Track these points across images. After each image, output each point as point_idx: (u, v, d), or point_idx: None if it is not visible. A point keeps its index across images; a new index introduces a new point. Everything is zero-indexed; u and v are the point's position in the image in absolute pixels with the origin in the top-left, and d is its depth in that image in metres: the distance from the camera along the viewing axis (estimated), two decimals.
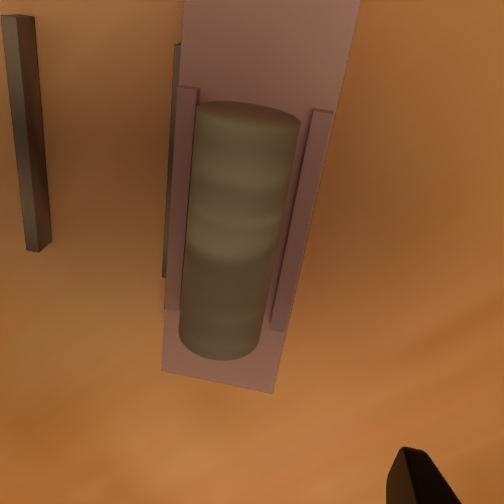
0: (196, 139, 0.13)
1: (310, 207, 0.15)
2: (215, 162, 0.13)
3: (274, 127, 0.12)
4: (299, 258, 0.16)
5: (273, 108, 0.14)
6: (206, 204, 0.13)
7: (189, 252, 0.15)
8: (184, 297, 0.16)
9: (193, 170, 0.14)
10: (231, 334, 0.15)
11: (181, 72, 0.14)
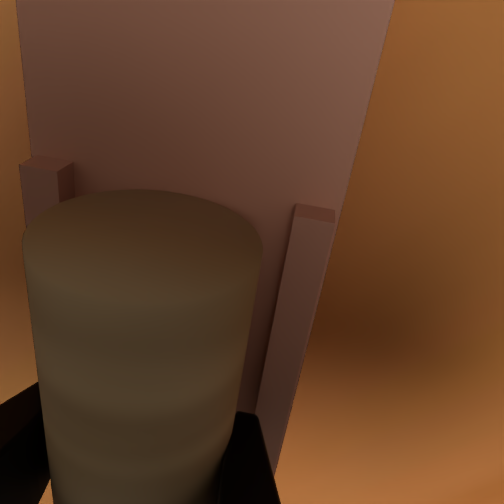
0: None
1: (292, 377, 0.08)
2: (59, 360, 0.05)
3: (191, 289, 0.05)
4: (275, 451, 0.09)
5: (215, 204, 0.07)
6: (58, 429, 0.06)
7: (51, 483, 0.07)
8: None
9: (35, 349, 0.06)
10: None
11: (32, 132, 0.07)
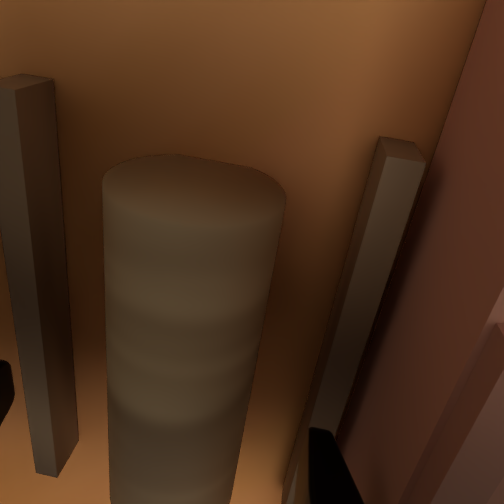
0: (106, 236, 0.07)
1: None
2: (141, 281, 0.07)
3: (244, 217, 0.07)
4: None
5: None
6: (133, 344, 0.08)
7: (112, 403, 0.09)
8: (112, 460, 0.10)
9: (106, 284, 0.08)
10: None
11: None
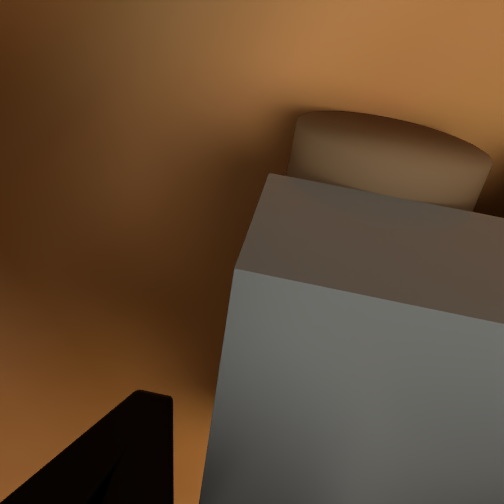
0: None
1: None
2: None
3: None
4: None
5: None
6: None
7: None
8: None
9: None
10: None
11: None
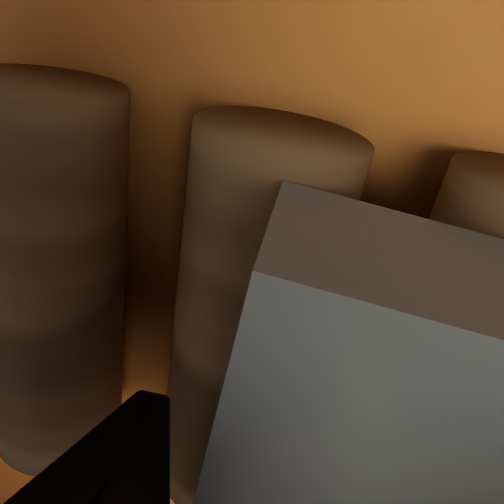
0: None
1: None
2: None
3: None
4: None
5: None
6: None
7: None
8: None
9: None
10: None
11: None
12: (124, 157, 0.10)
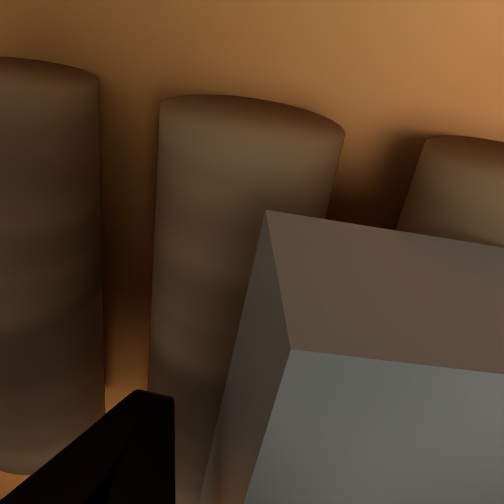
0: None
1: None
2: None
3: None
4: None
5: None
6: None
7: None
8: None
9: None
10: None
11: None
12: None
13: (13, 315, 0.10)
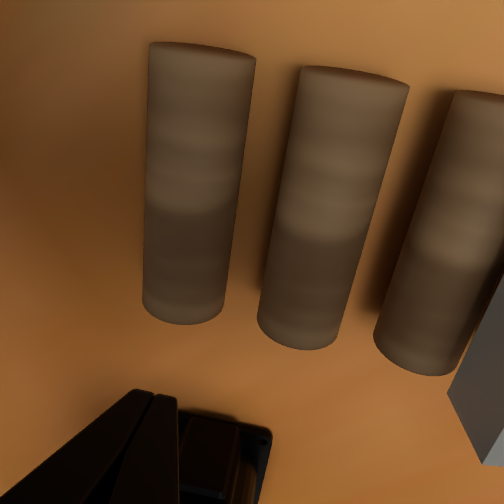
0: None
1: None
2: None
3: None
4: None
5: None
6: None
7: None
8: None
9: None
10: None
11: None
12: (250, 99, 0.16)
13: (343, 230, 0.16)
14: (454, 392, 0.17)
